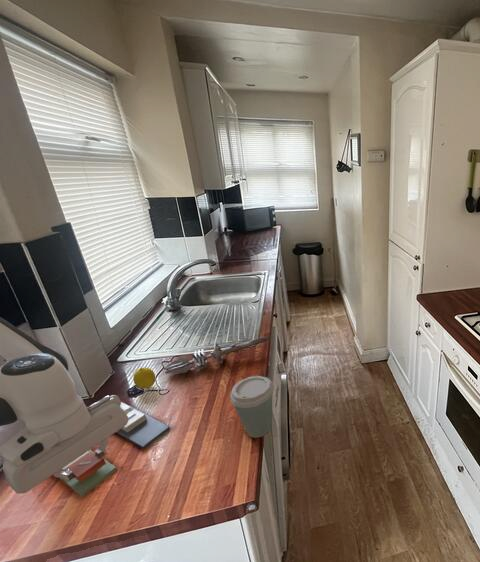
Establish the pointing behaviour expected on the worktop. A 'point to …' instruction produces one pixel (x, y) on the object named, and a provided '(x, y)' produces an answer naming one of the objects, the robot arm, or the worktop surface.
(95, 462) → the brown flat square block
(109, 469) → the green word strip
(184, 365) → the spaceship
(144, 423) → the strip
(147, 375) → the lemon
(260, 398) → the disposable coffee cup
